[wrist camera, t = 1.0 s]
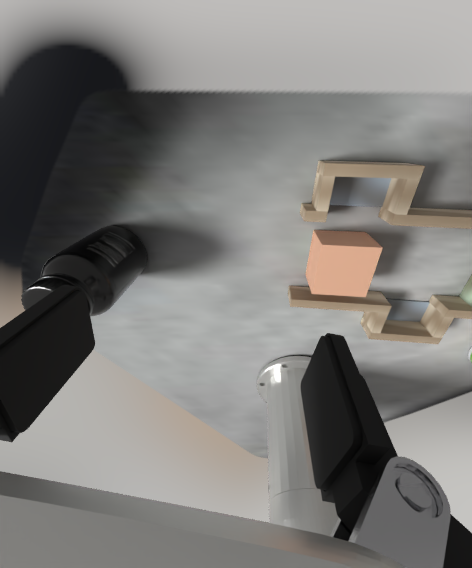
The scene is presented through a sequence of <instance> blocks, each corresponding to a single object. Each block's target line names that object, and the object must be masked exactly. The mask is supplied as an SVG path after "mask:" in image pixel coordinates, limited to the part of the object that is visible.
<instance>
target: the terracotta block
mask: <svg viewBox="0 0 472 568" xmlns="http://www.w3.org/2000/svg"><path fill="white" fill-rule="evenodd" d="M382 249H383V247H381V246H380V245H379V244H378V243H377V242H376V241H375V240H374V239H373V238H372V237H371V236H369V235H368V234H367V233H366V232H351V231H327V230H314V231H313V236H312V242H311V247H310V253H309V258H308V264H307V269H306V277H307V280H308V283H309V287H310V290H311V293H312V294H321V295H337V296H354V297H366V295H367V292H368V289H369V286H370V284H371V281H372V278H373V275H374V272H375V269H376V266H377V263H378V260H379V257H380V254H381V252H382Z"/></svg>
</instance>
